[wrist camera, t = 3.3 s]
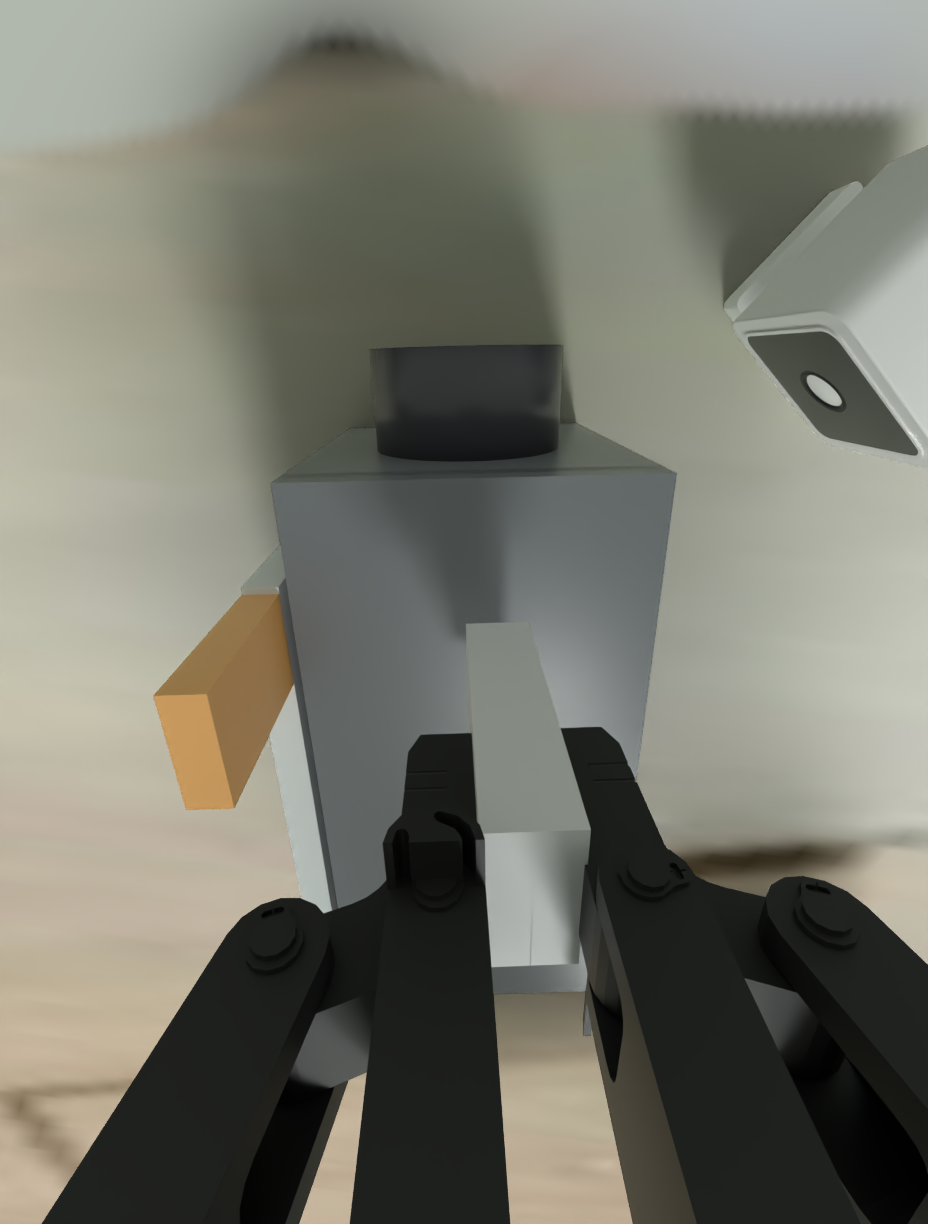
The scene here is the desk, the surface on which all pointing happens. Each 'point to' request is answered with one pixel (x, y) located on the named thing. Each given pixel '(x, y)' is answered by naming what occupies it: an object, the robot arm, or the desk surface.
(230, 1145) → the robot arm
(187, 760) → the hinged cabinet door
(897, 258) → the security camera
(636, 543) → the camera body
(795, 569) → the desk surface
